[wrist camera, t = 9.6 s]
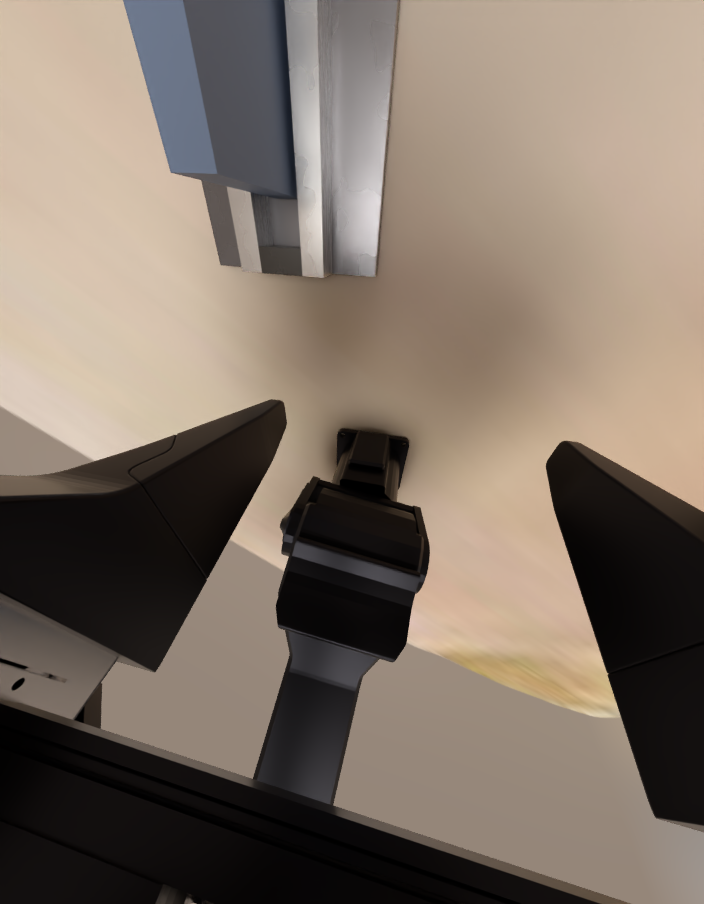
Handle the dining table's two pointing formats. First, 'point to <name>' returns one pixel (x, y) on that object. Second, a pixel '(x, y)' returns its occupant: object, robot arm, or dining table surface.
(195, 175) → the door panel
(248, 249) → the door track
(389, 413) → the dining table surface
